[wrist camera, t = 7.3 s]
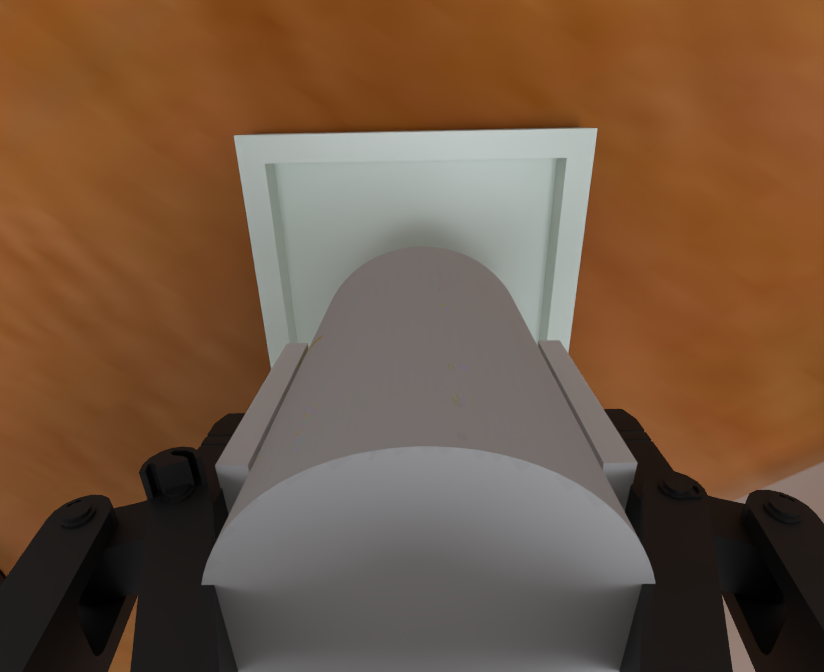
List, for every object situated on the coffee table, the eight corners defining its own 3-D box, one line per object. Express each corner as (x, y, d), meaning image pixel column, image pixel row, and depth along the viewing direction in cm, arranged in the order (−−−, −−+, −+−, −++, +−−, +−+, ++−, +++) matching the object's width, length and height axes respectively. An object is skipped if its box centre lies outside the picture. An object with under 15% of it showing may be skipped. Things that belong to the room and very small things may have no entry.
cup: (288, 290, 19) (105, 530, 8) (487, 214, 17) (604, 375, 6) (370, 447, 22) (321, 778, 11) (544, 393, 20) (687, 707, 10)
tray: (291, 410, 30) (281, 434, 28) (251, 133, 23) (233, 135, 21) (547, 407, 30) (558, 430, 27) (579, 127, 23) (597, 128, 21)
